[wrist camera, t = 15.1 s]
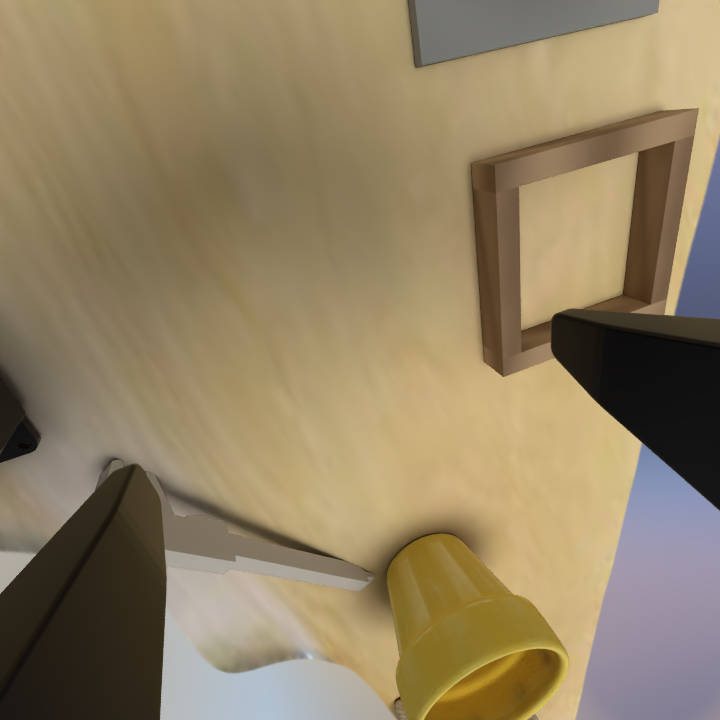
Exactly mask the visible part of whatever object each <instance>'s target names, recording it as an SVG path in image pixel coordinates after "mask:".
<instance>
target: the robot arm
mask: <svg viewBox="0 0 720 720" xmlns="http://www.w3.org/2000/svg"><path fill="white" fill-rule="evenodd" d="M551 351H552V353H553V355H554V357H555V358H556V359H557V360H558V361H559V362H560V364H561V365H562V366H563V367H564V368H565V369H566V370H567V371H568V372H569V373H570V374H571V375H572V376H573V378H574V379H575V380H576V381H577V382H578V383H579V384H580V385H581V386H582V387H583V388H584V389H585V390H586V391H587V393H588V394H589V395H590V396H591V397H592V398H593V399H594V400H595V401H596V402H597V403H598V404H599V405H600V406H601V407H602V408H603V409H605V410H606V411H607V412H608V413H609V414H610V415H611V416H612V417H614V418H615V419H616V420H617V421H618V422H619V423H620V424H622V425H623V426H624V427H625V428H626V429H627V430H628V431H630V432H631V433H632V434H633V435H634V436H635V437H636V438H638V439H639V440H640V441H641V442H642V443H643V444H644V445H646V446H647V447H648V448H649V449H650V450H651V451H652V452H653V453H655V454H656V455H657V456H658V457H659V458H660V459H661V460H663V461H664V462H665V463H666V464H667V465H668V466H669V467H671V468H672V469H673V470H674V471H675V472H676V473H677V474H679V475H680V476H681V477H682V478H683V479H684V480H685V481H686V482H688V483H689V484H690V485H691V486H692V487H693V488H695V489H696V490H697V491H698V492H699V493H700V494H701V495H702V496H704V497H705V498H706V499H707V500H708V501H709V502H710V503H712V504H713V505H714V506H715V507H716V508H717V509H718V510H720V319H711V318H710V319H709V318H697V317H683V316H669V315H655V314H641V313H627V312H613V311H600V310H586V309H567V310H565V311H562V312H559V313H556V314H555V315H554V316H553V317H552V320H551ZM24 415H25V410H24V409H23V408H22V406H21V405H20V404H19V402H18V401H17V400H16V398H15V397H14V396H13V394H12V393H11V391H10V390H9V389H8V387H7V386H6V385H5V383H4V382H3V381H2V379H1V378H0V463H1V462H4V461H7V460H10V459H13V458H16V457H19V456H22V455H25V454H28V453H31V452H33V451H35V450H36V448H37V447H38V445H39V443H40V436H39V435H38V433H37V432H36V430H35V429H34V428H33V426H32V425H31V424H30V422H29V421H28V420H27V418H26V417H25V416H24ZM21 440H28V441H30V442H31V443H30V444H26V443H23V442H22V441H21ZM166 583H167V576H166V559H165V545H164V532H163V519H162V506H161V500H160V497H159V495H158V493H157V491H156V489H155V488H154V486H153V484H152V483H151V481H150V480H149V478H148V476H147V475H146V473H145V471H144V470H143V468H142V467H141V466H140V465H138V464H131V465H128V466H125V467H122V468H120V469H117V470H115V471H113V472H112V473H111V474H110V475H109V476H108V477H107V479H106V480H105V481H104V482H103V483H102V484H101V485H100V486H99V487H98V488H97V489H96V490H95V492H94V493H93V494H92V495H91V496H90V497H89V498H88V499H87V500H86V501H85V502H84V504H83V505H82V506H81V507H80V508H79V509H78V510H77V511H76V512H75V513H74V514H73V516H72V517H71V518H70V519H69V520H68V521H67V522H66V523H65V524H64V525H63V526H62V527H61V529H60V530H59V531H58V532H57V533H56V534H55V535H54V536H53V537H52V538H51V539H50V541H49V542H48V543H47V544H46V545H45V546H44V547H43V548H42V549H41V550H40V551H39V553H38V554H37V555H36V556H35V557H34V558H33V559H32V560H31V561H30V562H29V563H28V565H27V566H26V567H25V568H24V569H23V570H22V571H21V572H20V573H19V574H18V575H17V576H16V578H15V579H14V580H13V581H12V582H11V583H10V584H9V585H8V586H7V587H6V588H5V590H4V591H3V592H2V593H1V594H0V720H160V707H161V686H162V667H163V646H164V627H165V608H166Z"/></svg>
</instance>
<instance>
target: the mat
mask: <svg viewBox="0 0 720 720" xmlns="http://www.w3.org/2000/svg"><path fill="white" fill-rule="evenodd" d="M408 3H409V11H410V20H411V29H412V38H413V47H414V55H415V64H416V68H417V67H421V66H426V65H430V64H434V63H439V62H443V61H448V60H452V59H457V58H461V57H466V56H470V55H474V54H479V53H483V52H488V51H492V50H497V49H501V48H506V47H510V46H515V45H519V44H523V43H528V42H532V41H537V40H541V39H546V38H550V37H555V36H559V35H563V34H568V33H572V32H577V31H581V30H586V29H590V28H595V27H599V26H604V25H608V24H612V23H617V22H621V21H626V20H630V19H635V18H639V17H644V16H648V15H651V14H655V13H658V7H659V0H408Z"/></svg>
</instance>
